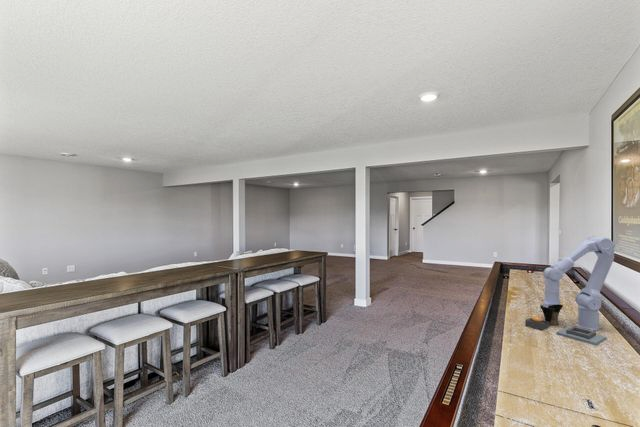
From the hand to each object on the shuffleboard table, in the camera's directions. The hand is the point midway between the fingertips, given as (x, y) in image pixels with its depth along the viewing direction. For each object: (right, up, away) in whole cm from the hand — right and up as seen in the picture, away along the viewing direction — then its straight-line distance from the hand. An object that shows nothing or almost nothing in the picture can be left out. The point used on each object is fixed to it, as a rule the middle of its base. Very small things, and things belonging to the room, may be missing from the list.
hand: (551, 319), depth 156 cm
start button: (-10, +1, -4) cm, 11 cm away
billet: (0, -2, 0) cm, 2 cm away
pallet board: (+2, -2, -16) cm, 16 cm away
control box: (-10, -2, -4) cm, 11 cm away
